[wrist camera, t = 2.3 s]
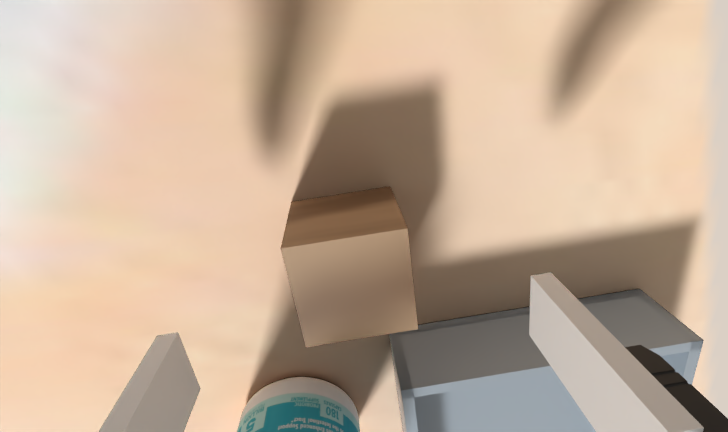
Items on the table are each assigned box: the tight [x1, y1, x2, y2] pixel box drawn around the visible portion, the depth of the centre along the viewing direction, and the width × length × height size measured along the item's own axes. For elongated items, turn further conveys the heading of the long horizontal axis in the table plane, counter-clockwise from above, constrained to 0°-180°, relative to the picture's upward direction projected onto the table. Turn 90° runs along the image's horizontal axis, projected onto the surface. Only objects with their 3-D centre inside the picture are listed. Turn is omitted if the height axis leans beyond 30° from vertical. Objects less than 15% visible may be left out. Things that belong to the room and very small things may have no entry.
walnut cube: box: [281, 186, 418, 348], centre depth 19 cm, size 5×5×5 cm
